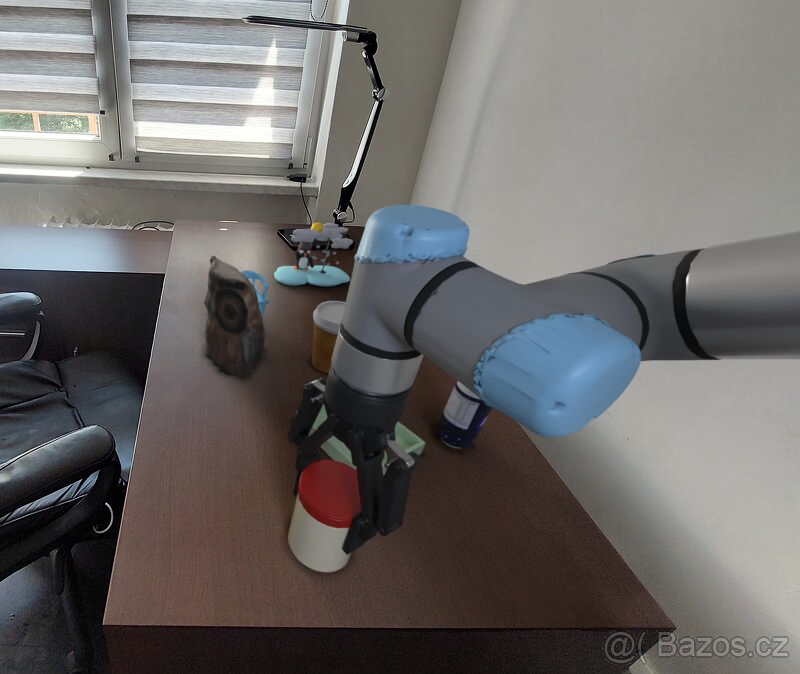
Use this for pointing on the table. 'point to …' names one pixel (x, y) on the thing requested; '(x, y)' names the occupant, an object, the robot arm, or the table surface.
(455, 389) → the beverage can
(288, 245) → the table surface
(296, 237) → the penguin figurine
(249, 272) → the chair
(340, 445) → the tray
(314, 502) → the jar lid
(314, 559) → the jar
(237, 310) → the owl
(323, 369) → the disposable coffee cup
